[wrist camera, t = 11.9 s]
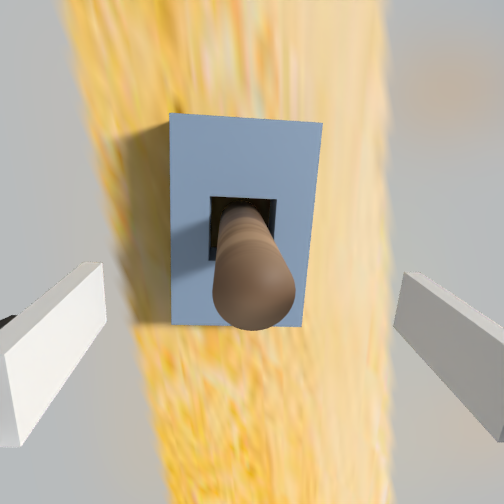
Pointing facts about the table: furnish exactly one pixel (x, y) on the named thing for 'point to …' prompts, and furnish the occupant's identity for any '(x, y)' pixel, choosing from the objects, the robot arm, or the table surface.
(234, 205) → the peg
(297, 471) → the table surface
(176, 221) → the socket block
